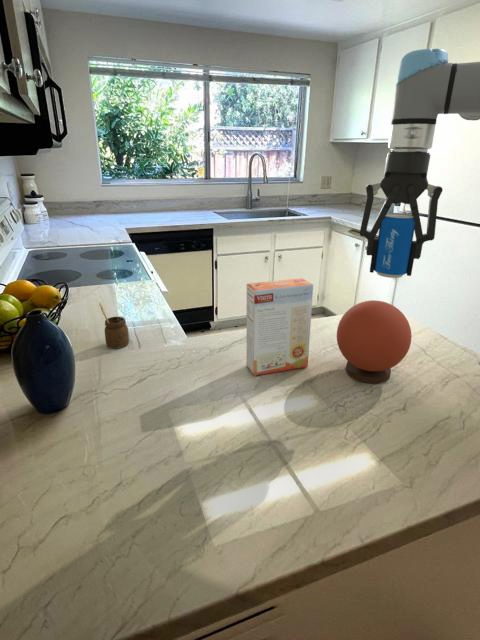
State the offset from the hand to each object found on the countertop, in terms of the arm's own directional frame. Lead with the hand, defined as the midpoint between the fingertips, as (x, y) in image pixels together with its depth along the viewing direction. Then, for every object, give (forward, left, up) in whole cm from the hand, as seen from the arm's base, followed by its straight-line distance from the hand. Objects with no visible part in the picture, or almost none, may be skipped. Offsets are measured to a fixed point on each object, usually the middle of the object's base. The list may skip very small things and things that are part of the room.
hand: (389, 272), depth 83 cm
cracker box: (+22, +2, -25) cm, 34 cm away
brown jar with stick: (+65, +4, -25) cm, 70 cm away
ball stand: (+1, -2, -25) cm, 25 cm away
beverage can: (0, 0, -1) cm, 1 cm away
